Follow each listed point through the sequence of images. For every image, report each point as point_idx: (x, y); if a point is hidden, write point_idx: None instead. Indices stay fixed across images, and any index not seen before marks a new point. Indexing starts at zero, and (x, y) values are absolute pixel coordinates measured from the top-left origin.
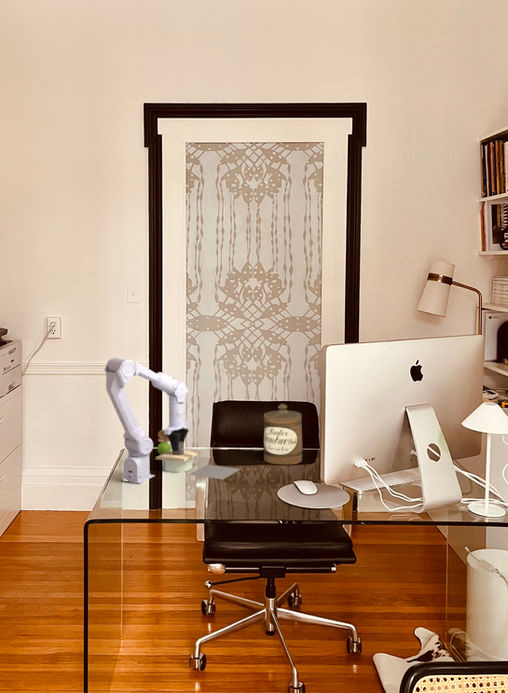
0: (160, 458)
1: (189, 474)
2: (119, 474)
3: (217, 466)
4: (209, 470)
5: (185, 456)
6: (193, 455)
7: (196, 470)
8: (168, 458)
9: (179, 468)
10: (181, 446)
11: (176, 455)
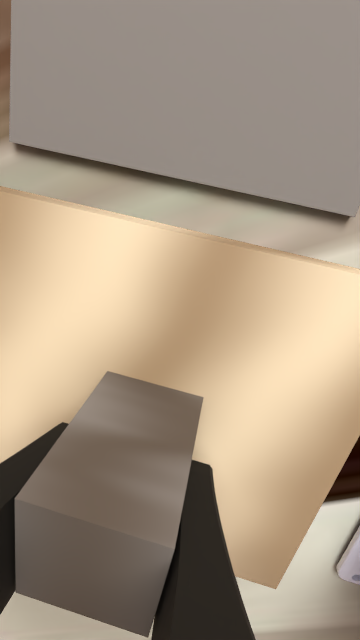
0: (291, 546)
1: (351, 207)
2: (344, 637)
3: (26, 2)
4: (181, 38)
5: (258, 316)
6: (161, 227)
7: (209, 182)
8: (329, 485)
9: None
10: (122, 459)
11: (204, 431)
